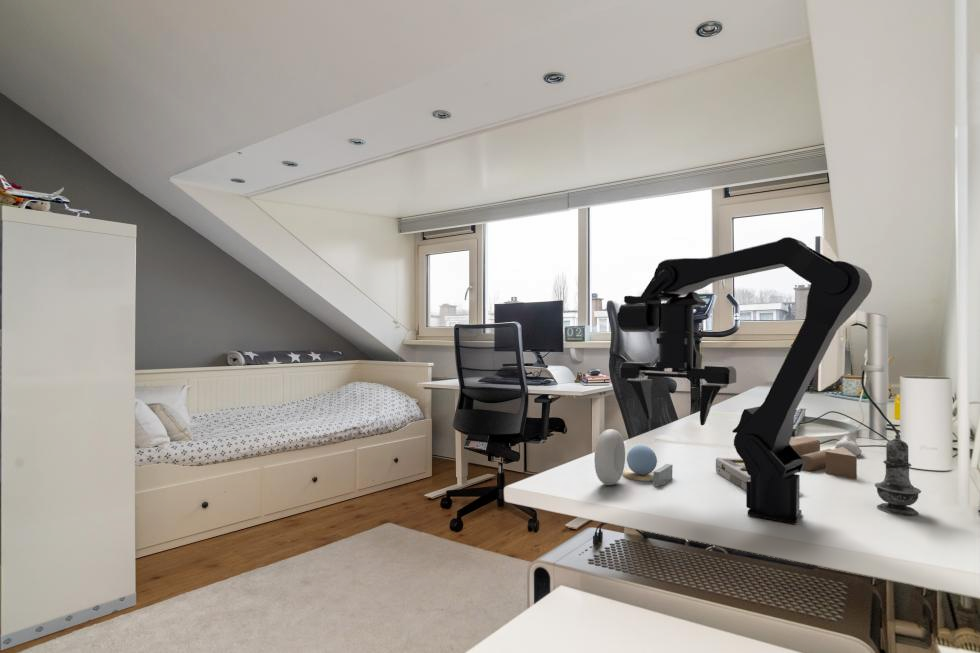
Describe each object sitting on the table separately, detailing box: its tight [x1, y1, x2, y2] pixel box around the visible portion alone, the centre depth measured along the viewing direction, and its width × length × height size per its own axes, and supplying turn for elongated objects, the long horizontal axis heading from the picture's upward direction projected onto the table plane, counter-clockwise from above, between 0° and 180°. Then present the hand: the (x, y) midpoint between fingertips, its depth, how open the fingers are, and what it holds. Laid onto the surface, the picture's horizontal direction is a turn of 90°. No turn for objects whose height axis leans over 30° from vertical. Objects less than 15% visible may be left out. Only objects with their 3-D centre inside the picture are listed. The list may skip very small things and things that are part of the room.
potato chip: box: [622, 469, 654, 482], centre depth 104 cm, size 7×7×1 cm
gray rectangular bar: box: [652, 463, 673, 487], centre depth 101 cm, size 1×8×2 cm, turn 143°
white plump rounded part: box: [594, 428, 626, 486], centre depth 98 cm, size 10×4×10 cm, turn 149°
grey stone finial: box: [874, 433, 922, 517], centre depth 86 cm, size 6×6×12 cm
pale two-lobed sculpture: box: [834, 434, 863, 456], centre depth 128 cm, size 4×8×5 cm
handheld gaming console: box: [715, 457, 750, 492], centre depth 101 cm, size 9×4×15 cm
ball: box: [626, 444, 658, 475], centre depth 105 cm, size 6×6×6 cm
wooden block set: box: [789, 436, 858, 480], centre depth 116 cm, size 17×6×18 cm
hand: (675, 422), depth 94 cm, fingers open, 9 cm apart
